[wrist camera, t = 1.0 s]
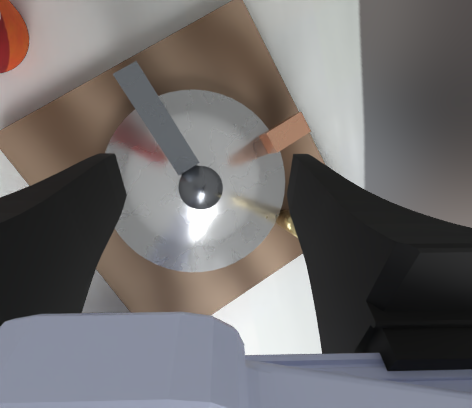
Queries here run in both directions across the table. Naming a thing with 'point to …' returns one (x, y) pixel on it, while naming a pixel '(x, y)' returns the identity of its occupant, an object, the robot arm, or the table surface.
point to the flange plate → (197, 175)
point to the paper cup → (12, 37)
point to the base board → (119, 107)
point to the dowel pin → (286, 222)
